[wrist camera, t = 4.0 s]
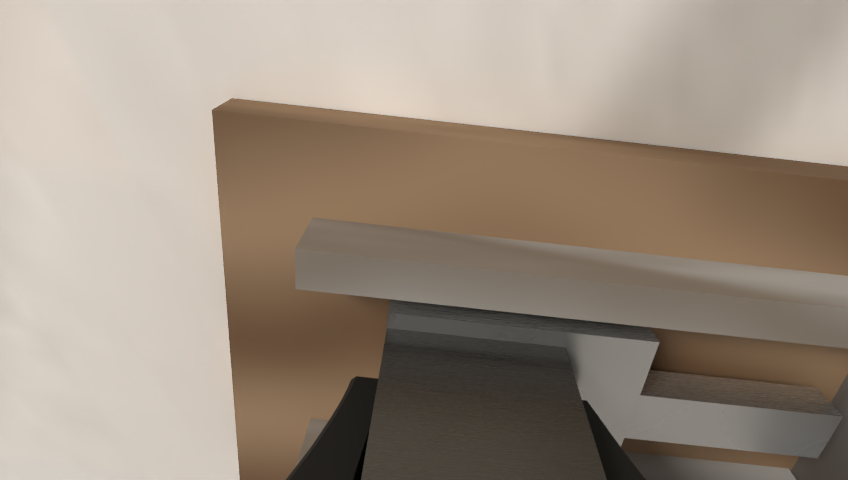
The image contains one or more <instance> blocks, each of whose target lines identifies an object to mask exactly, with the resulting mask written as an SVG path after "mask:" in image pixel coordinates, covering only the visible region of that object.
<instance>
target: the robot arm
mask: <svg viewBox="0 0 848 480" xmlns="http://www.w3.org/2000/svg"><path fill="white" fill-rule="evenodd" d="M377 383H378V378H368V377H359V376H356V377H354V378H353V379H351V381H350V383H349V386H348V388H347V390H346V392H345V394H344V396H343V398H342V400H341V401H340V403H339V405H338V407H337V408H336V410H335V411H334V413H333V415H332V416H331V418H330V420H329V421H328V423H327V424H326V426H325V427H324V429H323V430H322V432H321V433H320V434H319V436H318V437H317V439H316V440H315V442H314V443H313V445H312V446H311V448H310V449H309V450H308V452H307V453H306V454H305V455H304V457H303V458H302V459H301V461H300V462H299V463H298V465H297V466H296V467H295V468H294V470H293V471H292V472H291V474H290V475H289V476H288V477H287V479H286V480H361V477H362V471H363V465H364V459H365V453H366V448H367V442H368V436H369V430H370V424H371V418H372V413H373V407H374V401H375V395H376V389H377ZM582 402H583V405H584V408H585V412H586V415H587V418H588V421H589V424H590V428H591V431H592V434H593V437H594V440H595V444H596V447H597V450H598V453H599V456H600V460H601V463H602V466H603V469H604V472H605V476H606V479H607V480H646V479H645V478H644V477H643V475H642V474H641V473H640V472H639V470H638V469H637V468H636V466H635V465H634V464H633V463H632V461H631V460H630V459H629V457H628V456H627V455H626V453H625V452H624V451H623V449H622V448H621V447H620V445H619V444H618V443H617V441H616V440H615V438H614V437H613V436H612V434H611V433H610V432H609V430H608V429H607V427H606V426H605V425H604V423H603V422H602V421H601V419H600V418H599V416H598V415H597V414H596V412H595V411H594V409H593V408H592V407H591V405H590V404H589V403H588V401H586V400H582Z"/></svg>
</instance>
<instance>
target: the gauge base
mask: <svg viewBox="0 0 848 480" xmlns="http://www.w3.org/2000/svg"><path fill="white" fill-rule="evenodd" d="M212 116H213V129H214V142H215V156H216V169H217V182H218V195H219V209H220V222H221V235H222V248H223V261H224V275H225V288H226V301H227V314H228V328H229V341H230V354H231V367H232V380H233V394H234V407H235V420H236V433H237V447H238V460H239V473H240V480H286V479H287V477H288V476H289V475H290V474H291V472H292V471H293V470H294V468H295V467H296V466H297V465H298V463H299V462H300V461H301V459H302V458H303V457H304V455H305V454H306V453H307V452H308V450H309V449H310V448H311V446H312V445H313V443H314V442H315V440H316V439H317V437H318V436H319V434H320V433H321V432H322V430H323V429H324V427H325V426H326V424H327V423H328V421H329V420H330V418H331V416H332V415H333V413H334V411H335V410H336V408H337V407H338V405H339V403H340V401H341V400H342V398H343V396H344V394H345V392H346V390H347V388H348V386H349V383H350V381H351V379H353V378H354V377H356V376H359V377H368V378H379V372H380V366H381V360H382V354H383V349H384V343H385V337H386V331H387V322H388V312H389V306H390V301H391V299H392V300H401V301H410V302H420V303H429V304H438V305H448V306H457V307H466V308H475V309H485V310H494V311H503V312H513V313H522V314H531V315H540V316H550V317H559V318H568V319H578V320H587V321H596V322H605V323H615V324H624V325H633V326H643V327H651V328H652V330H653V332H654V334H655V335H656V337H657V339H658V341H659V345H658V348H657V351H656V353H655V356H654V359H653V361H652V364H651V367H650V370H655V371H665V372H674V373H683V374H693V375H702V376H711V377H721V378H730V379H739V380H749V381H758V382H767V383H777V384H786V385H795V386H805V387H814V388H818V389H819V390H820V391H821V393H822V394H823V395H824V396H825V397H826V398H827V399H828V400H829V402H830V403H831V404H832V405H833V406H834V407H835V408H836V409H837V411H838V412H839V413H840V414H841V415H842V416H843V418H842V420H841V421H840V423H839V424H838V426H837V428H836V429H835V431H834V433H833V434H832V436H831V438H830V439H829V441H828V443H827V444H826V446H825V448H824V449H823V451H822V453H821V454H820V456H819V457H818V458H810V457H800V456H791V455H781V454H772V453H762V452H753V451H743V450H734V449H724V448H715V447H706V446H696V445H687V444H677V443H668V442H658V441H649V440H639V439H630V438H624V440H623V443H622V445H621V448H622V449H623V451H624V452H625V453H626V455H627V456H628V457H629V459H630V460H631V461H632V463H633V464H634V465H635V466H636V468H637V469H638V470H639V472H640V473H641V474H642V475H643V477H644V478H645V479H646V480H848V167H846V166H837V165H828V164H819V163H810V162H801V161H792V160H783V159H774V158H765V157H756V156H747V155H738V154H729V153H720V152H711V151H702V150H693V149H684V148H675V147H666V146H657V145H648V144H639V143H630V142H621V141H612V140H603V139H593V138H584V137H575V136H566V135H557V134H548V133H539V132H530V131H521V130H512V129H503V128H494V127H485V126H476V125H467V124H458V123H449V122H440V121H431V120H422V119H413V118H404V117H395V116H386V115H377V114H368V113H359V112H350V111H341V110H332V109H323V108H314V107H305V106H296V105H287V104H278V103H269V102H260V101H251V100H242V99H233V98H232V99H230V100H228V101H227V102H225V103H223V104H222V105H220V106H218V107H216V108H215V109H213V110H212Z"/></svg>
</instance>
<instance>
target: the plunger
mask: <svg viewBox="0 0 848 480" xmlns="http://www.w3.org/2000/svg"><path fill="white" fill-rule="evenodd" d="M658 345H659V341H658V339H657V337H656V335H655V334H654V332H653V330H652V328H651V327H643V326H633V325H624V324H615V323H605V322H596V321H587V320H578V319H568V318H559V317H550V316H540V315H531V314H522V313H513V312H503V311H494V310H485V309H475V308H466V307H457V306H448V305H438V304H429V303H420V302H410V301H401V300H392V299H391V301H390V306H389V312H388V322H387V331H386V337H385V343H384V349H383V354H382V360H381V366H380V372H379V378H378V383H377V389H376V395H375V401H374V407H373V413H372V418H371V424H370V430H369V436H368V442H367V448H366V453H365V459H364V465H363V471H362V477H361V480H607V479H606V476H605V472H604V469H603V466H602V463H601V460H600V456H599V453H598V450H597V447H596V444H595V440H594V437H593V434H592V431H591V428H590V424H589V421H588V418H587V415H586V412H585V408H584V405H583V402H582V400H586V401H588V403H589V404H590V405H591V407H592V408H593V409H594V411H595V412H596V414H597V415H598V416H599V418H600V419H601V421H602V422H603V423H604V425H605V426H606V427H607V429H608V430H609V432H610V433H611V434H612V436H613V437H614V438H615V440H616V441H617V443H618V444H619V445H620V447H621V445H622V443H623V440H624V438H630V439H639V440H649V441H658V442H668V443H677V444H687V445H696V446H706V447H715V448H724V449H734V450H743V451H753V452H762V453H772V454H781V455H791V456H800V457H810V458H818V457H819V456H820V454H821V453H822V451H823V449H824V448H825V446H826V444H827V443H828V441H829V439H830V438H831V436H832V434H833V433H834V431H835V429H836V428H837V426H838V424H839V423H840V421H841V420H842V418H843V416H842V415H841V414H840V413H839V412H838V411H837V409H836V408H835V407H834V406H833V405H832V404H831V403H830V402H829V400H828V399H827V398H826V397H825V396H824V395H823V394H822V393H821V391H820V390H819V389H818V388H814V387H805V386H795V385H786V384H777V383H767V382H758V381H749V380H739V379H730V378H721V377H711V376H702V375H693V374H683V373H674V372H665V371H655V370H650V367H651V364H652V361H653V359H654V356H655V353H656V351H657V348H658Z"/></svg>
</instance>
